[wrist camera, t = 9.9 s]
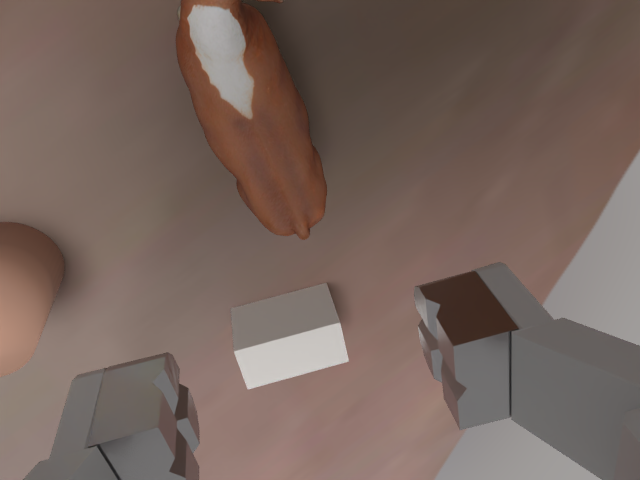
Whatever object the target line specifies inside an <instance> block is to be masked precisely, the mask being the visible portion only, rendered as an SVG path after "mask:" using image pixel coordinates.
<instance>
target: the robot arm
mask: <svg viewBox="0 0 640 480" xmlns="http://www.w3.org/2000/svg"><path fill="white" fill-rule="evenodd" d="M414 297H415V306H416V308H417V310H418V311H419V313H420V315H421V317H422V320H421V321H420V323H419V325H418V330H419V336H420V342H421V346H422V349H423V353H424V357H425V359H426V362H427V364H428V367H429V369H430V371H431V373H432V375H433V377H434V379H436V380H438V381H440V382H441V383H442V385H443V394H444V400H445V402H446V404H447V406H448V408H449V409H450V411H451V413H452V415H453V417H454V419H455V421H456V423H457V425H458V427H459V429H460V430H462V429H466V428H470V427H474V426H478V425H482V424H486V423H490V422H494V421H498V420H502V419H506V418H509V417H512V420H513V421H514V422H516V423H517V424H519V425H520V426H522V427H524V428H525V429H526V430H528V431H529V432H531V433H532V434H534V435H535V436H537V437H538V438H540V439H541V440H543V441H544V442H546V443H547V444H549V445H550V446H552V447H553V448H555V449H557V450H558V451H559V452H561V453H562V454H564V455H566V456H567V457H569V458H570V459H572V460H573V461H575V462H576V463H578V464H579V465H581V466H582V467H584V468H585V469H587V470H588V471H590V472H591V473H593V474H594V475H596V476H597V477H599V478H600V479H602V480H640V346H639V345H636V344H633V343H631V342H628V341H625V340H622V339H620V338H617V337H614V336H611V335H609V334H606V333H603V332H600V331H598V330H595V329H593V328H590V327H587V326H584V325H582V324H579V323H576V322H573V321H571V320H568V319H565V318H560V319H557V320H554V319H553V318H552V317H551V316H550V315H549V313H548V312H547V311H546V310H545V309H544V308H543V306H542V305H541V304H540V303H539V302H538V301H537V300H536V298H535V297H534V296H533V295H532V294H531V293H530V292H529V291H528V289H527V288H526V287H525V286H524V285H523V284H522V283H521V281H520V280H519V279H518V278H517V277H516V276H515V275H514V274H513V272H512V271H511V270H510V269H509V268H508V267H507V266H506V264H504V263H501V262H498V263H494V264H491V265H488V266H484V267H481V268H477V269H474V270H472V271H471V272H466V273H463V274H459V275H455V276H452V277H448V278H444V279H441V280H437V281H433V282H430V283H426V284H422V285H419V286H415V289H414ZM179 373H180V369H179V367H178V365H177V363H176V361H175V359H174V357H173V355H172V354H170V353H168V352H167V353H163V354H159V355H155V356H151V357H147V358H143V359H138V360H134V361H130V362H126V363H122V364H118V365H114V366H110V367H108V368H103V369H99V370H95V371H91V372H87V373H83V374H79V375H77V376H76V377H75V378H74V379H73V380H72V382H71V385H70V389H69V392H68V396H67V399H66V403H65V406H64V409H63V413H62V416H61V420H60V423H59V427H58V430H57V434H56V437H55V440H54V444H53V447H52V451H51V454H50V458H49V459H47V460H44V461H40V462H39V463H38V464H37V465H36V466H35V467H34V468H33V469H32V470H31V471H30V472H29V474H28V475H27V476H26V477H25V478H24V479H23V480H199V465H198V463H197V461H196V459H195V457H194V455H193V453H194V451H195V450H196V448H197V447H198V445H199V444H200V441H199V423H198V416H197V411H196V407H195V404H194V401H193V398H192V395H191V393H190V391H189V389H188V388H187V387H185V386H183V385H181V384H179Z"/></svg>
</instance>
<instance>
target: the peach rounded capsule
mask: <svg viewBox="0 0 640 480" xmlns="http://www.w3.org/2000/svg"><path fill="white" fill-rule="evenodd" d="M64 271H65V264H64V259H63V256H62V254H61V252H60V250H59V248H58V247H57V245H56V244H55V243H54V242H53V241H52V240H51V239H50V238H49V237H48V236H46V235H45V234H43V233H42V232H40V231H38V230H36V229H34V228H32V227H29V226H27V225H23V224H19V223H12V222H0V377H2V376H5V375H8V374H11V373H13V372H15V371H17V370H18V369H20V368H21V367H23V366H24V365H25V364H26V363H27V362H28V361H29V360H30V359H31V357H32V356H33V354H34V351H35V349H36V346H37V344H38V341H39V339H40V336H41V334H42V331H43V328H44V326H45V323H46V321H47V318H48V315H49V313H50V310H51V308H52V305H53V302H54V300H55V297H56V295H57V292H58V289H59V287H60V284H61V282H62V279H63V276H64Z"/></svg>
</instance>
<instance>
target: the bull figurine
mask: <svg viewBox="0 0 640 480" xmlns="http://www.w3.org/2000/svg"><path fill="white" fill-rule="evenodd" d="M256 1H273V2H277V3H282V2H283V1H284V0H256ZM177 14H178V19H179V20H180V21H179V27H178V30H177V34H176V49H177V57H178V63H179V66H180V69H181V72H182V75H183V77H184V80H185V82H186V84H187V86H188V88H189V91H190V94H191V98H192V102H193V105H194V109H195V112H196V115H197V117H198V119H199V122H200V124H201V126H202V128H203V130H204V134H205V137H206V139H207V141H208V144H209V146H210V147H211V149H212V150H213V152H214V153H215V155H216V156H217V157H218V159H219V160H220V161H221V162H222V164H223V165H224V166H225V167H226V168H227V169H228V170H229V171H230V172H231V173H232V174H233V175H234V176H235V177H236V178H237V189H238V192H239V194H240V196H241V198H242V199H243V201H244V202H245V204H246V205H247V206H248V207H249V209H250V210H251V211H252V212H253V213H254V215H255V216H256V217H257V218H258V219H259V221H260V222H261V223H262V224H263V225H264V226H265V227H266V228H267V229H268V230H269V231H271V232H272V233H274V234H276V235H283V236H290V235H293V234H297V235H298V237H299V238H300V239H302V240H305V239H307V238H308V237H309V235H310V228H311V227H313V226H314V225H315V224H317V223H318V222H319V221H320V220H321V219H322V217H323V215H324V213H325V203H326V196H327V185H326V181H325V178H324V175H323V169H322V163H321V159H320V156H319V154H318V152H317V150H316V149H315V147H314V146H313V145H312V142H311V138H310V133H309V121H308V114H307V110H306V107H305V104H304V102H303V100H302V98H301V96H300V94H299V92H298V91H297V89H296V87H295V85H294V83H293V80H292V78H291V76H290V73H289V71H288V69H287V66H286V64H285V62H284V60H283V58H282V56H281V54H280V51H279V49H278V46H277V43H276V40H275V38H274V36H273V34H272V32H271V30H270V28H269V26H268V24H267V23H266V21H265V19H264V18H263V16H262V15H261V13H260V12H259V11H258V10H257V9H255V8H254V7H252V6H251V5H248V4H245V3H241V0H181V5H180V6H179V8H178V11H177Z"/></svg>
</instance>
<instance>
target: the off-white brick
mask: <svg viewBox="0 0 640 480" xmlns="http://www.w3.org/2000/svg"><path fill="white" fill-rule="evenodd" d="M231 320H232V334H233V347H234V353H235V356H236V359H237V361H238V364H239V367H240V369H241V372H242V375H243V377H244V380H245V383H246V386H247V388H248V389H251V388H255V387H258V386H262V385H266V384H269V383H273V382H276V381H280V380H284V379H287V378H291V377H294V376H298V375H302V374H305V373H309V372H312V371H316V370H320V369H323V368H327V367H330V366H334V365H338V364H341V363H345V362H348V361H349V360H348V356H347V351H346V347H345V342H344V338H343V333H342V329H341V324H340V321H339V318H338V315H337V312H336V309H335V306H334V303H333V300H332V297H331V294H330V292H329V289H328V286H327V283H323V284H320V285H316V286H312V287H308V288H305V289H301V290H297V291H294V292H290V293H286V294H282V295H279V296H275V297H271V298H268V299H264V300H260V301H256V302H253V303H249V304H245V305H242V306H238V307H234V308H231Z"/></svg>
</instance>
